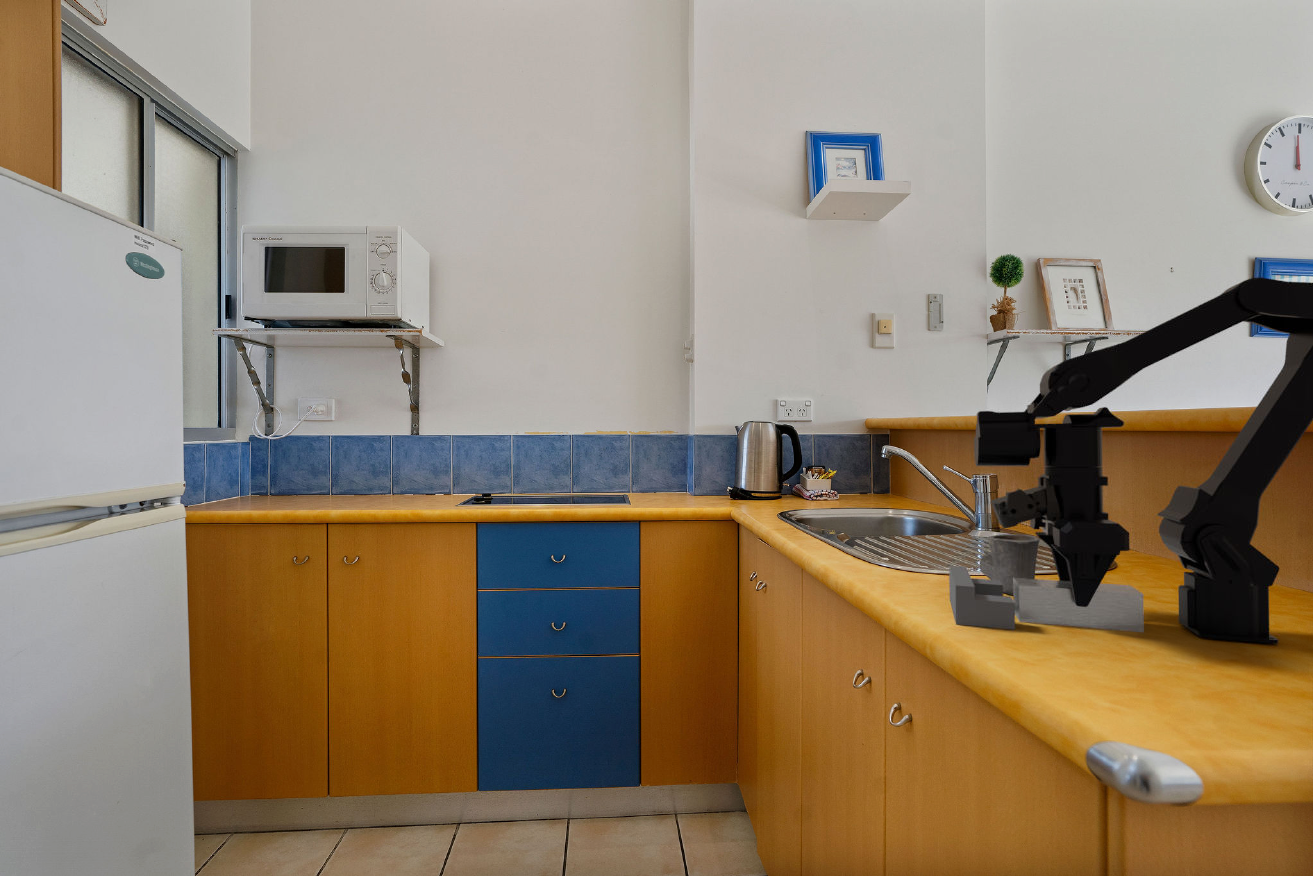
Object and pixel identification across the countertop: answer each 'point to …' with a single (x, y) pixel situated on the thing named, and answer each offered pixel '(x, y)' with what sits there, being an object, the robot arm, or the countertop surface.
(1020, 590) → the long gray post
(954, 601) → the grey u-shaped block
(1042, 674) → the countertop surface
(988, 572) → the grey tapered cup
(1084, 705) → the countertop surface
